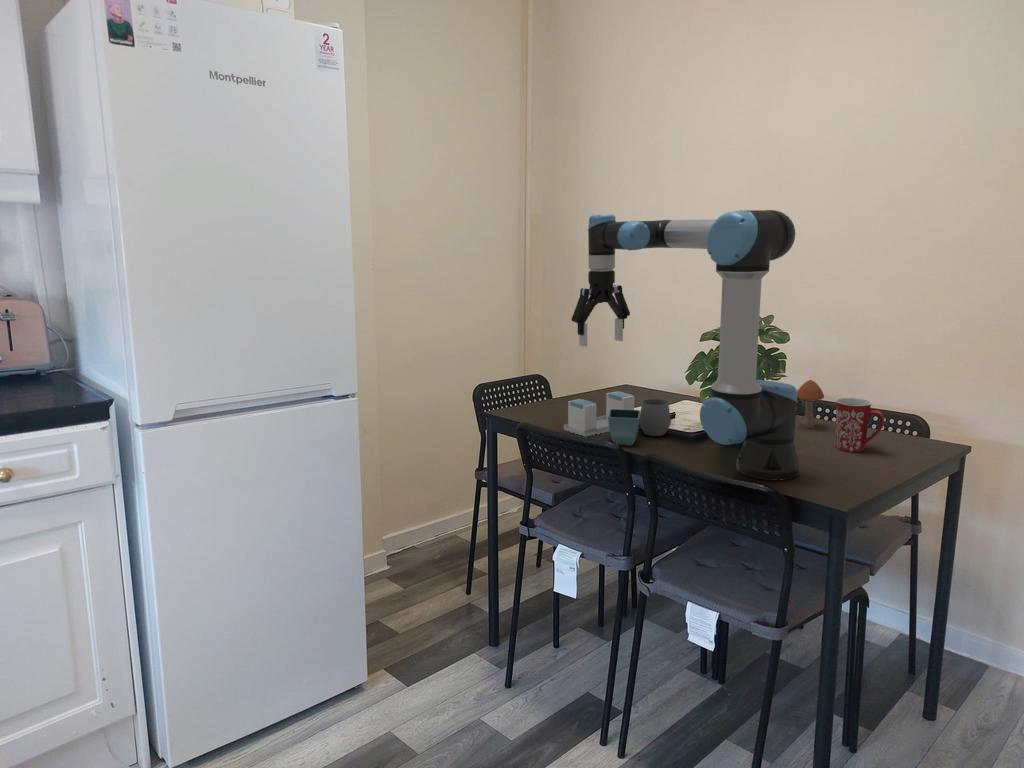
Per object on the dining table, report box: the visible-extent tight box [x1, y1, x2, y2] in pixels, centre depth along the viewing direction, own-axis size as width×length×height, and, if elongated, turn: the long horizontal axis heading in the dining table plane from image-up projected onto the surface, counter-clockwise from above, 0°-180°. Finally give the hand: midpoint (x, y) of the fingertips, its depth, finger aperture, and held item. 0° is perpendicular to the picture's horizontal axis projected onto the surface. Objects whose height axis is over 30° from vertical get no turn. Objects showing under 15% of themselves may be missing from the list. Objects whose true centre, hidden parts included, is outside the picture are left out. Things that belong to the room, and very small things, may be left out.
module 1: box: [567, 398, 597, 432], centre depth 216 cm, size 8×5×8 cm, turn 34°
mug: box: [835, 397, 885, 453], centre depth 193 cm, size 13×9×14 cm
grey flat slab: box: [563, 415, 610, 437], centre depth 221 cm, size 10×22×2 cm, turn 124°
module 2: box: [605, 390, 635, 418], centre depth 224 cm, size 8×5×8 cm, turn 34°
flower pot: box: [608, 409, 641, 446], centre depth 204 cm, size 9×9×9 cm
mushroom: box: [797, 379, 825, 429], centre depth 214 cm, size 8×8×15 cm
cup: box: [639, 398, 672, 437], centre depth 212 cm, size 10×9×10 cm
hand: (601, 343), depth 207 cm, fingers open, 13 cm apart
